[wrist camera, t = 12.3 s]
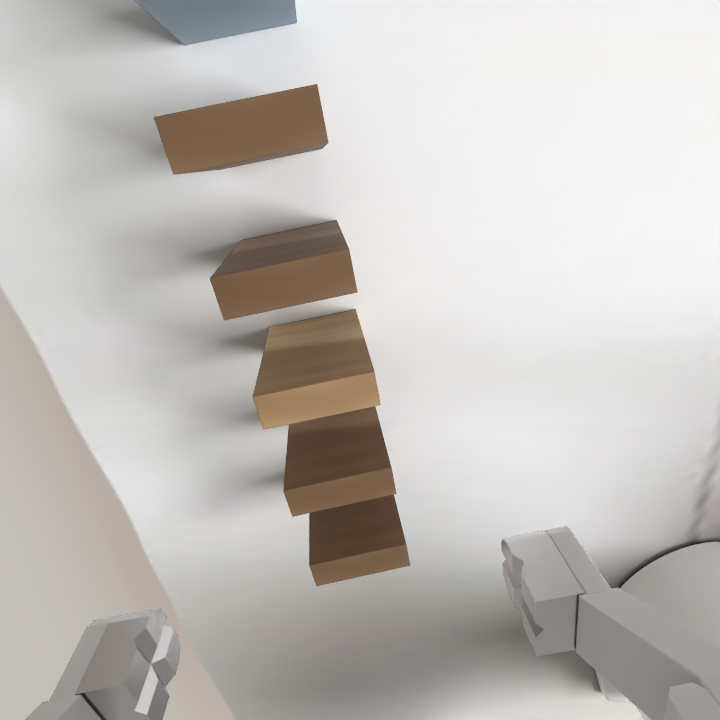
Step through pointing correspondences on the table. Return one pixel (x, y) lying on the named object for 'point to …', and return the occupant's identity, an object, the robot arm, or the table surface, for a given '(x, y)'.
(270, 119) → the domino
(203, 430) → the table surface
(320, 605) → the table surface
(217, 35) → the domino
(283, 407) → the domino
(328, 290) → the domino
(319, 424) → the domino
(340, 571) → the domino
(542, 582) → the robot arm
